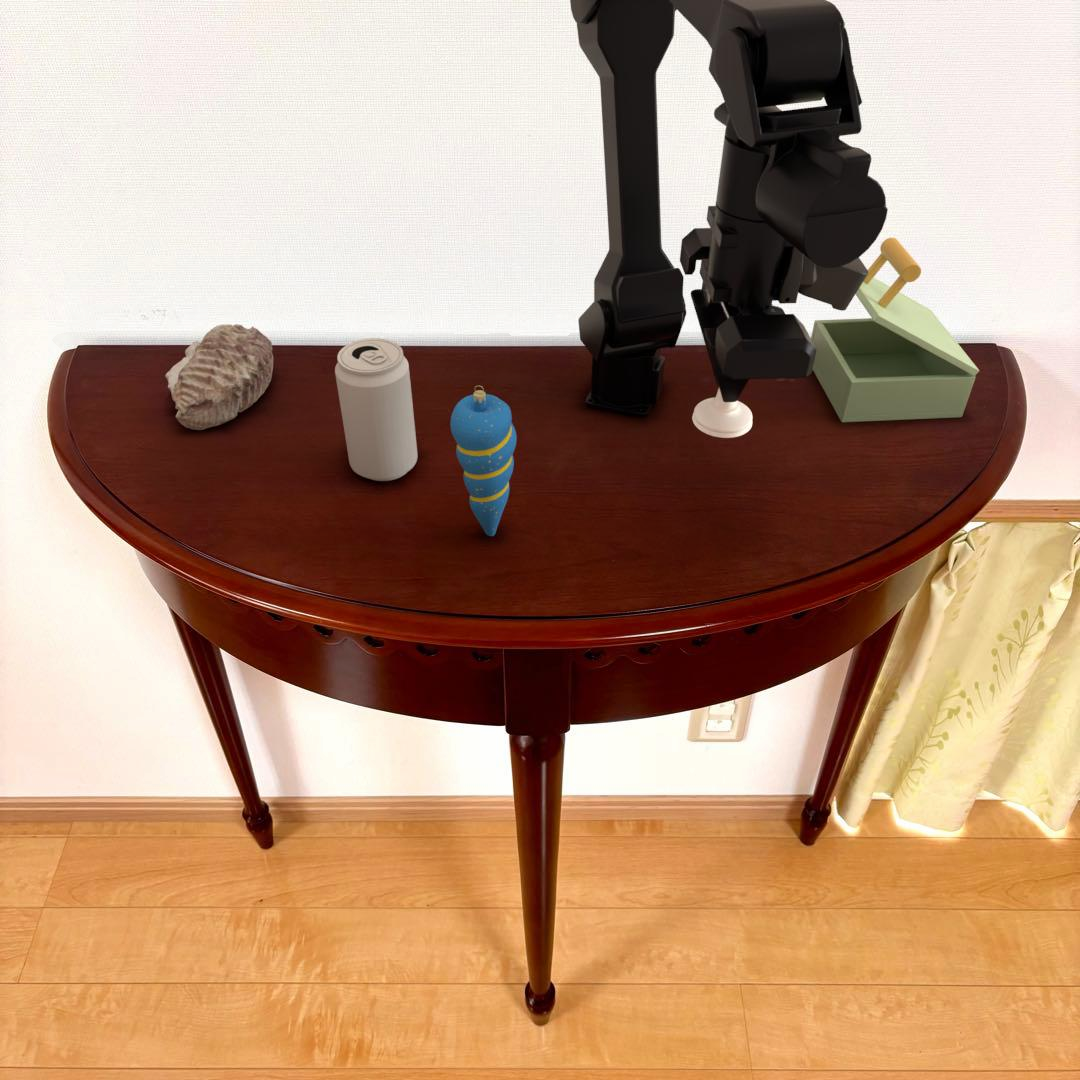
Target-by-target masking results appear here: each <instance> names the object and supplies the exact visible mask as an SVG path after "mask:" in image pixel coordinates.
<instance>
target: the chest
mask: <svg viewBox="0 0 1080 1080" xmlns="http://www.w3.org/2000/svg"><path fill="white" fill-rule="evenodd" d="M810 338H811V340H812V342H813V344H814V345H815V347H816V349H817V351H816V356H815V360H814V365H813V369H812V372H813V373H814V375H815V377H816V378H817V380H818V382H819V384H820V386H821V388H822V390H823V392H824V393H825V395H826V397H827V398H828V400H829V402H830V404H831V406H832V407H833V409H834V411H835V413H836V415H837V417H838V418H839V420H840V422H841V423H858V422H860V423H863V422H880V421H903V420H904V421H906V420H928V419H949V418H950V419H953V418H963V415H964V413H965V409H966V406H967V404H968V401H969V398H970V396H971V392H972V389H973V386H974V383H975V380H976V375H975V376H973V375H972V374H970V373H968V372H966V371H964V370H962V369H961V368H959V367H957V366H955V365H953V364H951V363H949V362H948V361H946V360H944V359H942V358H940V357H938V356H937V355H935V354H933V353H931V352H929V351H927V350H926V349H924V348H922V347H920V346H918V345H916V344H915V343H913V342H911V341H909V340H907V339H905V338H904V337H902V336H900V335H898V334H896V333H894V332H893V331H891V330H889V329H887V328H885V327H883V326H882V325H880V324H878V323H876V322H874V320H873V319H872V317H870V318H869V317H868V318H867V317H866V318H841V319H816V320H814V322H813V327H812V333H811V336H810Z"/></svg>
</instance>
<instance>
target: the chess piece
mask: <svg viewBox="0 0 1080 1080" xmlns="http://www.w3.org/2000/svg"><path fill="white" fill-rule="evenodd" d="M753 418H754V417H753V413H752V410H751V409H750V408H749V407H748V406H747V405H746V404H745V403H743V402H741V401H739V400H737V401H736V402H723V399H722V396H721V392H720V389H719V388H718V389H717V392H716V395H715V397H709V398H705V399H703V400H702V401H700V402H698V403H697V404H696V406H695V407H694V410H693V413H692V416H691V420H692V423H693V424H694V426H695V428H697V429H698V430H699V431H700V432H702V433H704V434H706V435H709V436H711V437H714V438H715V437H716V438H722V439H731V438H738V437H741V436H743V435H745V434H747V433H749V431H750V430H751V429H752V427H753Z"/></svg>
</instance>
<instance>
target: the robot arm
mask: <svg viewBox="0 0 1080 1080" xmlns="http://www.w3.org/2000/svg"><path fill="white" fill-rule="evenodd" d="M569 4H570V11H571V14H572V18H573V20H574V22H575V23H576V30H577V38H578V45H579V47H580V49H581V51H582V52H583V54H584V56H585V57H586V59H587V60H588V62H589V63H590V64H591V66H592V68H593V70H594V71H595V73H596V74H597V77H598V78H599V87H600V103H601V104H600V107H601V119H602V120H601V121H602V122H601V123H602V142H603V157H604V158H603V159H604V176H605V193H606V194H605V195H606V196H605V197H606V211H607V213H606V214H607V231H608V251H607V253H606V255H605V257H604V260H603V261H602V263H601V266H600V267H599V269H598V272H597V273H596V275H595V277H594V280H593V295H594V296H593V302H592V303H591V304H590V305H589V306H588V308H586V310H585V311H584V312H582V314H581V315H580V316H579V317H578V322H577V323H578V331H579V332H578V333H579V340H580V341H581V344H583V346H584V347H585V348H586V350H587V351H588V352H589V354H590V355H591V356H592V358H591V382H590V391H589V393H588V395H587V396H586V398H585V402H584V403H585V406H586V407H590V408H595V409H599V410H604V411H608V412H609V411H610V412H614V413H620V414H624V415H629V416H633V417H634V416H635V417H641V418H644V417H647V416H648V415H649V413H650V410H651V408H652V406H653V405H655V404H657V402H658V400H659V398H660V396H661V394H662V391H663V382H664V373H665V363H666V358H665V356H662V355H661V349H667V348H668V349H671V348H675V347H676V345H677V342H678V339H679V336H680V333H681V331H682V328H683V325H684V323H685V320H686V315H687V307H686V302H685V301H686V300H685V298H684V280H685V279H684V275H685V276H686V275H687V276H689V275H690V276H691V275H693V274H694V273H695V271H696V266H697V261H701V262H700V268H699V275H700V277H701V280H702V283H701V288H696V289H693V290H691V292H690V298H691V301H692V304H693V307H694V311H695V314H696V318H697V321H698V325H699V327H700V331H701V334H702V338H703V343H704V345H705V348H706V351H707V355H708V358H709V362H710V365H711V368H712V373H713V376H714V380H715V382H716V386H717V387H718V389H720V392H721V396H722V399H723V402H736V401H739V399H740V397H741V395H742V393H743V391H744V390H745V388H746V385H747V384H748V382H749V381H750V380H771V379H772V380H773V379H774V380H775V379H802V378H803V379H805V378H807V377H809V376H811V374H812V372H813V365H814V360H815V356H816V351H817V349H816V347H815V345H814V344H813V342H812V340H811V336H810V334H809V332H808V330H807V329H806V327H805V325H804V324H803V323H802V321H800V319H799V318H797V316H796V315H795V314H794V313H785V311H784V309H783V307H780V306H777V305H773V302H776V301H778V303H779V304H796V303H797V300H798V295H799V294H800V295H802V296H804V297H807V298H810V299H813V300H816V301H819V302H822V303H825V304H828V305H829V306H831V307H832V309H834V310H838V311H841V312H843V311H846V310H847V309H848V307H849V306H850V304H851V302H852V301H853V299H854V297H855V296H856V292H857V291H858V289H859V288H860V286H861V285H862V283H863V281H864V280H865V278H866V277H867V275H868V273H869V272H868V268H867V267H866V265H865V264H864V262H863V261H862V260H861V258H860V257H861V256H862V255H864V254H865V253H866V252H867V251H868V250H869V249H870V248H871V246H872V245H873V244H874V243H875V242H876V240H877V239H878V238H879V235H880V233H881V232H882V230H883V228H884V225H885V223H886V220H887V216H888V211H889V210H888V207H887V201H886V199H887V198H886V193H885V191H884V188H883V186H882V185H881V184H880V183H879V181H878V180H876V179H874V178H873V177H871V176H870V175H869V171H870V168H871V163H872V155H871V154H870V153H869V152H867V151H865V150H864V149H862V148H861V147H855V146H852V145H850V144H848V143H846V142H845V141H843V140H841V139H840V137H842V136H850V135H858V134H860V133H861V131H862V128H863V127H862V118H861V113H860V106H861V105H862V104H863V100H862V96H861V93H860V90H859V86H858V82H857V78H856V75H855V72H854V65H853V59H852V53H851V45H850V39H849V35H848V32H847V28H846V27H845V26H846V22H845V20H844V18H843V15H842V14H841V12H840V10H839V9H838V7H837V6H836V5H835V4H834V3H832V2H831V1H829V0H569ZM676 11H678V12H679V13H680V15H682V16H683V18H684V19H685V20H686V21H687V22H688V23H689V24H690V25H691V26H692V27H693V28H694V29H695V30H696V31H697V32H698V33H699V34H700V35H701V37H703V39H704V40H705V41H706V42H707V44H708V45H709V47H710V49H711V53H710V59H709V64H708V72H709V74H710V75H711V76H712V78H713V80H714V82H715V84H716V85H717V86H718V88H719V90H720V93H721V96H722V99H723V101H724V102H722V103H720V104H719V105H718V106H717V107H716V108H715V109H714V111H713V116H714V119H715V120H716V121H717V122H719V123H721V124H722V125H724V126H725V131H724V138H723V145H722V153H721V161H720V168H719V176H718V184H717V190H716V191H717V192H716V199H715V205H708V206H707V214H706V222H707V224H708V226H709V227H694V228H693V229H692V230H690V232H689V233H687V234H686V235H685V236H684V237H683V238H681V245H680V255H679V262H680V265H681V267H682V271H683V273H684V275H683V273H682V271H681V269H680V267H675V266H674V265H673V263H672V262H671V260H670V259H669V257H668V255H667V254H666V253H665V251H664V250H663V246H662V223H661V222H662V220H661V219H662V218H661V191H660V158H659V157H660V156H659V127H658V101H657V99H658V98H657V96H658V95H657V72H658V69H659V68H660V66H661V63H662V61H663V60H664V57H665V55H666V53H667V51H668V50H669V47H670V46H671V43H672V40H673V39H674V36H675V22H676V21H675V19H676V18H675V17H676ZM823 99H824V101H825V105H820V106H811V107H804V108H794V109H786V110H783V109H780V108H779V107H778V106H784V105H785V106H786V105H793V104H801V103H811V102H819V101H822V100H823Z"/></svg>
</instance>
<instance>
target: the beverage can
mask: <svg viewBox="0 0 1080 1080" xmlns="http://www.w3.org/2000/svg"><path fill="white" fill-rule="evenodd" d="M336 358H337V363H336V365H335V367H334V374H335V381H336V388H337V393H338V400H339V407H340V411H341V418H342V424H343V433H344V437H345V444H346V450H347V451H346V452H347V457H348V462H349V466H350V468H351V469H352V471H353V472H354V473H355V474H357V475H359V476H361V477H363V478H365V479H369V480H371V481H376V482H377V481H378V482H389V481H393V480H398V479H400V478H401V477H403V476H405V475H406V474H407V473H408V472H410V471H411V470H412V469H413V468H414V467H415V465H416V464H417V461H418V457H419V456H418V455H419V454H418V445H417V435H416V425H415V424H416V423H415V416H414V405H413V394H412V393H413V392H412V385H411V384H412V383H411V375H410V365H409V361H408V359H407V358H406V357H405V355H404V350H403V348H402V347H401V345H399V344H398V343H397V342H394V341H393V340H389V339H385V338H378V337H377V338H375V337H374V338H364V339H363V338H362V339H357V340H355V341H352V342H350V343H348V344H346V345H344V346H343V347H342V348H341V349H340V350H339V352H338V353H337V357H336Z"/></svg>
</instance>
